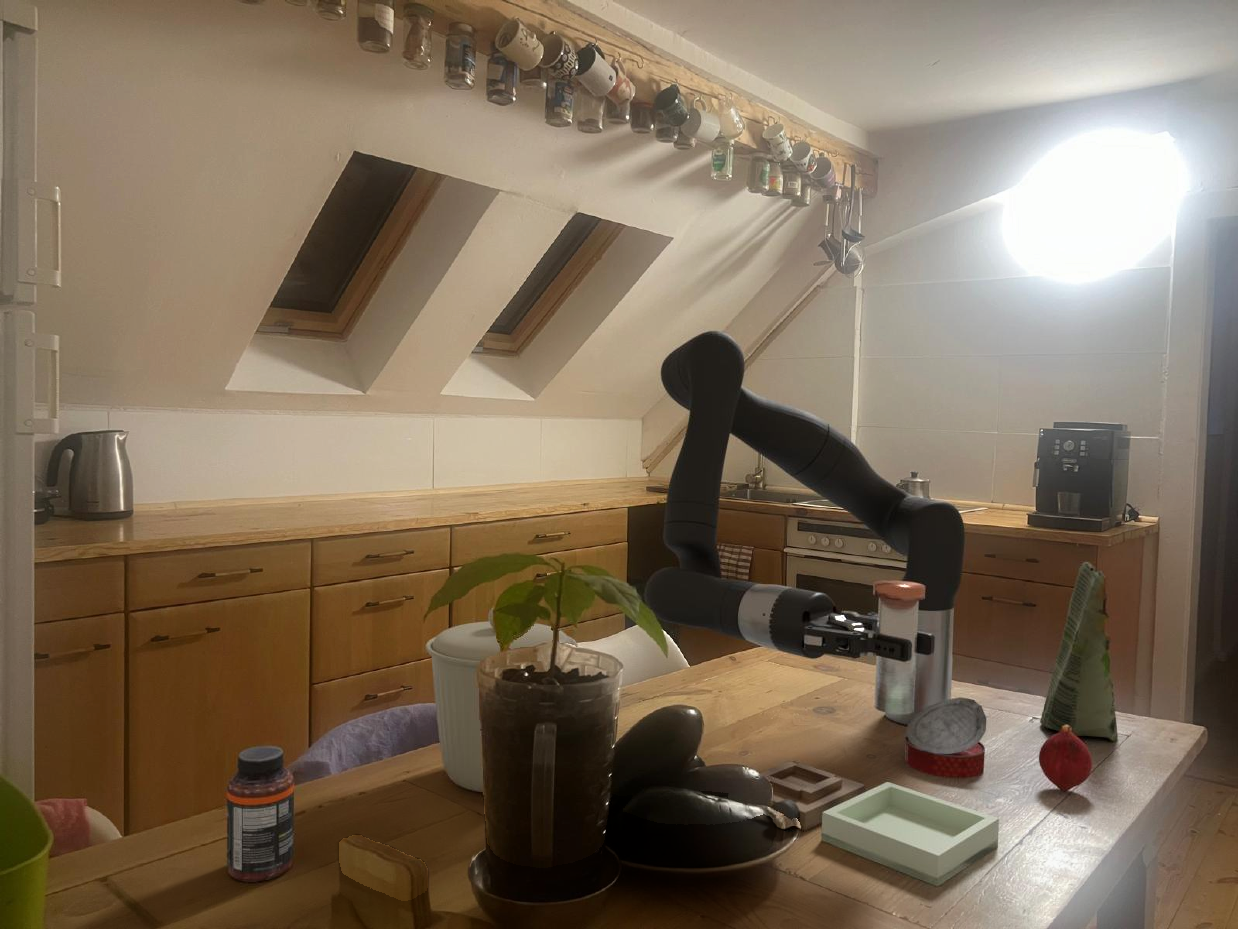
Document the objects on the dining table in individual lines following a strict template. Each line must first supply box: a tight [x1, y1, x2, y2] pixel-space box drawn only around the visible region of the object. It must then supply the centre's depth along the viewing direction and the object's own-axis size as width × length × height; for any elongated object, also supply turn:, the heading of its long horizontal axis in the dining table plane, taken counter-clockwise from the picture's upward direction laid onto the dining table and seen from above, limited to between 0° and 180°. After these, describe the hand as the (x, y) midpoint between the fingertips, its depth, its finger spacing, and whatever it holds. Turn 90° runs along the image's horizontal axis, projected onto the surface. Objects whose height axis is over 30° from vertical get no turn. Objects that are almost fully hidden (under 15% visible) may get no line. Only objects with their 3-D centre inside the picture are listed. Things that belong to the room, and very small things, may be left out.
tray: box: [821, 781, 1000, 887], centre depth 98 cm, size 13×13×3 cm
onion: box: [1038, 725, 1093, 792], centre depth 113 cm, size 6×6×8 cm
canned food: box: [904, 697, 987, 779], centre depth 122 cm, size 11×10×10 cm
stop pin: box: [872, 579, 925, 714], centre depth 98 cm, size 5×5×13 cm
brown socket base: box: [760, 760, 866, 832], centre depth 107 cm, size 14×10×3 cm
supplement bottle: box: [226, 745, 295, 882], centre depth 88 cm, size 6×6×11 cm
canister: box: [425, 606, 578, 793], centre depth 113 cm, size 18×18×21 cm
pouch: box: [1039, 561, 1119, 742], centre depth 135 cm, size 11×12×25 cm
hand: (921, 648), depth 96 cm, fingers closed on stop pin, 4 cm apart
